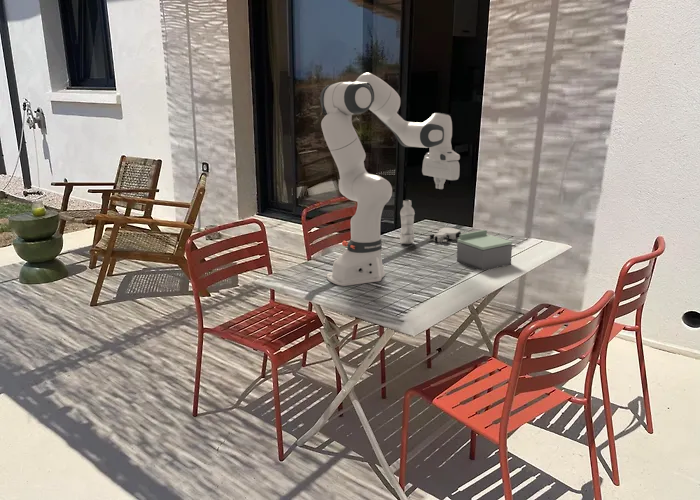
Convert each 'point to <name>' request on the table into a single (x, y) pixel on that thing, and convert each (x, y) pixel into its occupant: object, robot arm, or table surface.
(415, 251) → the table surface
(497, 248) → the housing
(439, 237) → the robot toy
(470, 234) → the lid
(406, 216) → the plastic bottle
